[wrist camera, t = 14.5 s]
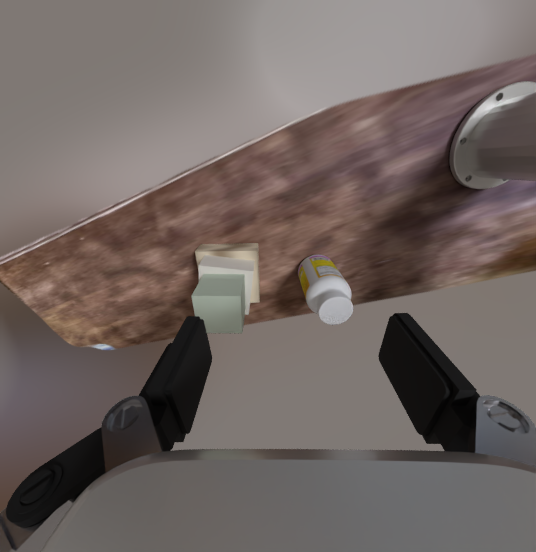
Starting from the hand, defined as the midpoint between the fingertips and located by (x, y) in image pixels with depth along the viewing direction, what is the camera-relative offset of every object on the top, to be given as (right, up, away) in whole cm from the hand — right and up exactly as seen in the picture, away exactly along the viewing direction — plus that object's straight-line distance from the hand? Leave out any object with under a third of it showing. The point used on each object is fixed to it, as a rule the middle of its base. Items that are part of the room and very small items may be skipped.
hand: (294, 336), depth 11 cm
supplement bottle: (+7, +4, +29) cm, 30 cm away
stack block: (-8, +1, +22) cm, 23 cm away
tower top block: (-8, +3, +26) cm, 27 cm away
